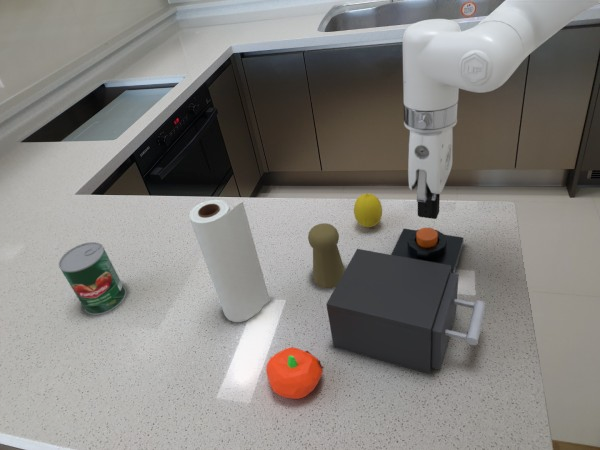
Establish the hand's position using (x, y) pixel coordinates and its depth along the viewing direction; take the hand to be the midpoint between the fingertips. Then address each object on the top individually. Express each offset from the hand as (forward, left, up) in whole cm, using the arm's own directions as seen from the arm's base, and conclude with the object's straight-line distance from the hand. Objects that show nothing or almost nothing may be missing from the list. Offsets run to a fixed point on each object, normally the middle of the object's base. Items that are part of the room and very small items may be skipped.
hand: (428, 215), depth 77 cm
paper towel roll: (+26, +22, -10) cm, 35 cm away
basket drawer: (-3, +18, -9) cm, 20 cm away
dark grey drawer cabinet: (+1, +18, -10) cm, 20 cm away
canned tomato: (+54, +28, -10) cm, 62 cm away
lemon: (+13, -6, -10) cm, 18 cm away
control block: (0, 0, -10) cm, 10 cm away
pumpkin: (+11, +32, -10) cm, 35 cm away
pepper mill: (+15, +10, -10) cm, 21 cm away
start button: (0, 0, -6) cm, 6 cm away
